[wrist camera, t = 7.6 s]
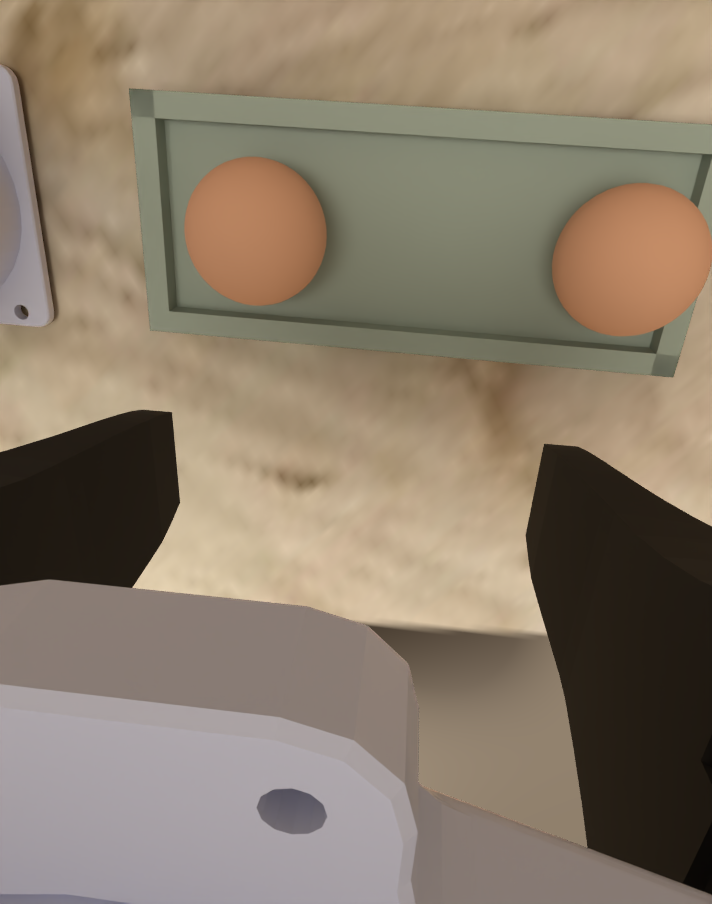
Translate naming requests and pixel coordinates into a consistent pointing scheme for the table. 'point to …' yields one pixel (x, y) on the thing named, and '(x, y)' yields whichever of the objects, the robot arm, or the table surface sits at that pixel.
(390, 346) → the trough green
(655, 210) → the terracotta ball
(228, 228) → the terracotta ball
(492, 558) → the table surface
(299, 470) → the table surface
